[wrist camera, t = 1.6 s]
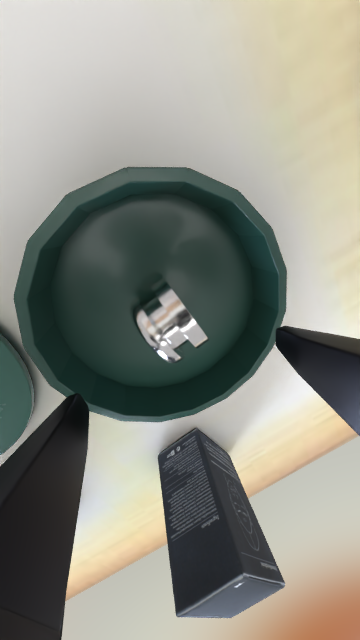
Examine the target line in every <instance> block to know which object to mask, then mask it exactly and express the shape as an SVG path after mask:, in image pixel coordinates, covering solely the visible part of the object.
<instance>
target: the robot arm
mask: <svg viewBox="0 0 360 640" xmlns="http://www.w3.org/2000/svg"><path fill="white" fill-rule="evenodd" d="M276 346H277V348H278V350H279V351H280V352H281V353H282V354H283V356H284V357H285V358H286V359H287V361H288V362H289V363H290V364H291V366H292V367H293V368H294V369H295V370H296V372H297V373H298V374H299V375H300V376H301V377H302V378H303V379H304V380H305V381H306V382H307V383H308V384H309V385H310V386H311V387H312V388H313V389H314V390H315V391H316V392H317V393H318V394H319V395H320V396H321V397H322V398H323V399H324V400H325V401H326V402H327V403H328V404H329V405H330V406H331V407H332V408H333V409H334V410H335V412H336V413H337V414H338V415H339V416H340V417H341V418H342V419H343V420H344V421H345V422H346V423H347V424H348V425H349V426H350V427H351V428H352V429H353V430H354V431H355V432H356V433H357V434H358V435H359V436H360V339H356V338H351V337H345V336H339V335H334V334H328V333H323V332H317V331H311V330H306V329H300V328H294V327H289V326H283V327H280V328H277V329H276ZM88 429H89V407H88V405H87V403H86V402H85V400H84V399H83V397H82V395H81V394H80V393H76V394H73V395H70V396H68V397H67V398H66V399H65V400H64V401H63V402H62V403H61V404H60V405H59V406H58V407H57V408H56V409H55V410H54V411H53V412H52V413H51V414H50V416H49V417H48V418H47V419H46V420H45V421H44V422H43V423H42V424H41V425H40V426H39V427H38V428H37V429H36V430H35V431H34V432H33V433H32V434H31V435H30V436H29V437H28V438H27V439H26V440H25V441H24V442H23V444H22V445H21V446H20V447H19V448H18V449H17V450H16V451H15V452H14V453H13V454H12V455H11V456H10V457H9V458H8V459H7V460H6V461H5V462H4V463H3V464H2V465H1V466H0V640H61V637H62V627H63V617H64V607H65V598H66V589H67V582H68V576H69V569H70V563H71V556H72V549H73V543H74V536H75V529H76V523H77V516H78V509H79V503H80V496H81V489H82V483H83V476H84V470H85V463H86V456H87V449H88Z"/></svg>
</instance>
